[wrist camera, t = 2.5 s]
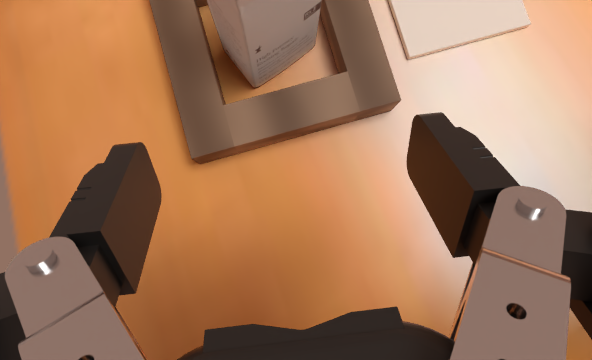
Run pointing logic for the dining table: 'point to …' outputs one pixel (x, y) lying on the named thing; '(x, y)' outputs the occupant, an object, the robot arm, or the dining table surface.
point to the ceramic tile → (453, 22)
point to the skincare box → (265, 33)
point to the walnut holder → (282, 103)
